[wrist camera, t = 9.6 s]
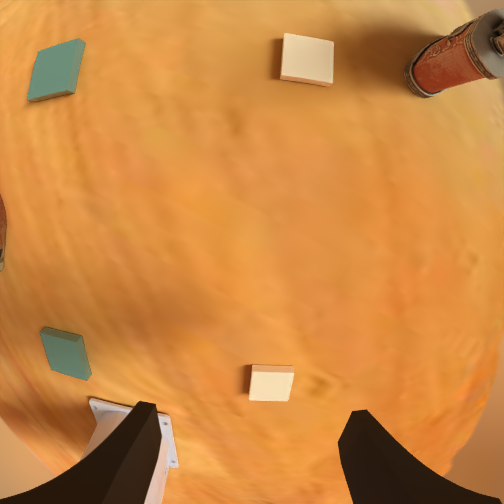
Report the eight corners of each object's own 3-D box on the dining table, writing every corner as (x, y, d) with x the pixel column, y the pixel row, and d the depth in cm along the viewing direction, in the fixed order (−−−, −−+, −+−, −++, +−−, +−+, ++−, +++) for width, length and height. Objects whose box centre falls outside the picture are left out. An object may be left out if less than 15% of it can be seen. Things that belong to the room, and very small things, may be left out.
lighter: (446, 30, 13) (526, -10, 3) (471, 64, 14) (557, 39, 4) (394, 68, 14) (493, 16, 5) (424, 108, 15) (535, 86, 5)
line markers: (285, 398, 21) (287, 406, 20) (56, 363, 20) (51, 369, 19) (330, 40, 14) (334, 34, 13) (45, 54, 13) (38, 51, 12)
